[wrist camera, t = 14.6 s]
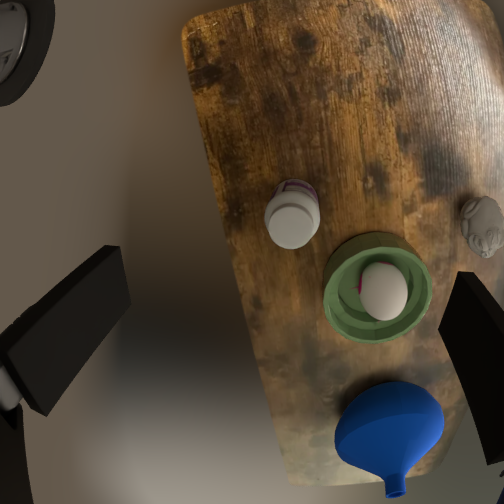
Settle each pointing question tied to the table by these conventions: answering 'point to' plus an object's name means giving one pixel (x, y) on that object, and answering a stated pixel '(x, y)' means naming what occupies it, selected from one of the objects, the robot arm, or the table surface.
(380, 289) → the stress ball
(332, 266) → the green bowl
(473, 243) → the frog figurine
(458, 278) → the robot arm
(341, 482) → the table surface
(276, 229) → the pill bottle
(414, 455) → the vase
